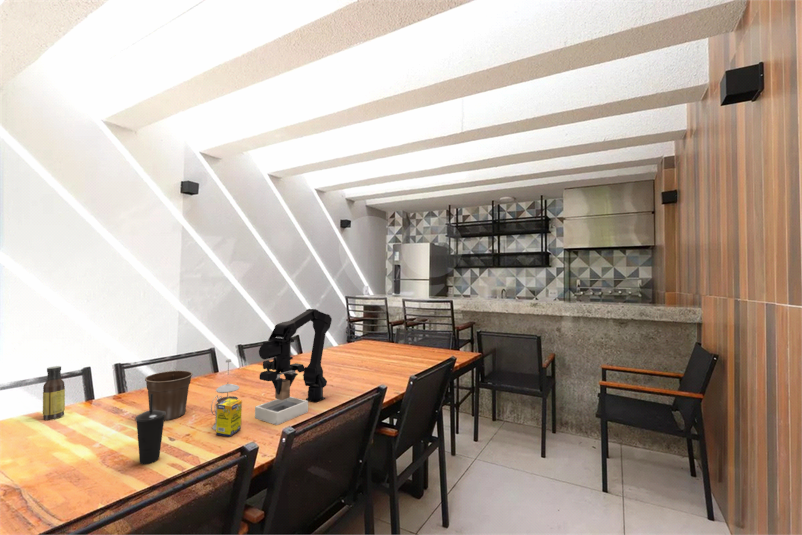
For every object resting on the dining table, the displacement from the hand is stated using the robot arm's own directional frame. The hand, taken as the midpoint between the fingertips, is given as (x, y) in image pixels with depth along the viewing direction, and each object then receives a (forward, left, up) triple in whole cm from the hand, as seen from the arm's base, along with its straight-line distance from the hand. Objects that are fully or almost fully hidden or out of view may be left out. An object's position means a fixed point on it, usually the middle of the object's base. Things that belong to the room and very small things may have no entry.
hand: (282, 392), depth 145 cm
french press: (+19, -9, -9) cm, 23 cm away
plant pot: (+25, -38, -9) cm, 46 cm away
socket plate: (0, 0, -9) cm, 9 cm away
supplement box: (+22, -3, -9) cm, 24 cm away
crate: (0, 0, -9) cm, 9 cm away
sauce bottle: (+50, -74, -9) cm, 90 cm away
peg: (0, 0, -2) cm, 2 cm away
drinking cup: (+46, -5, -9) cm, 47 cm away
